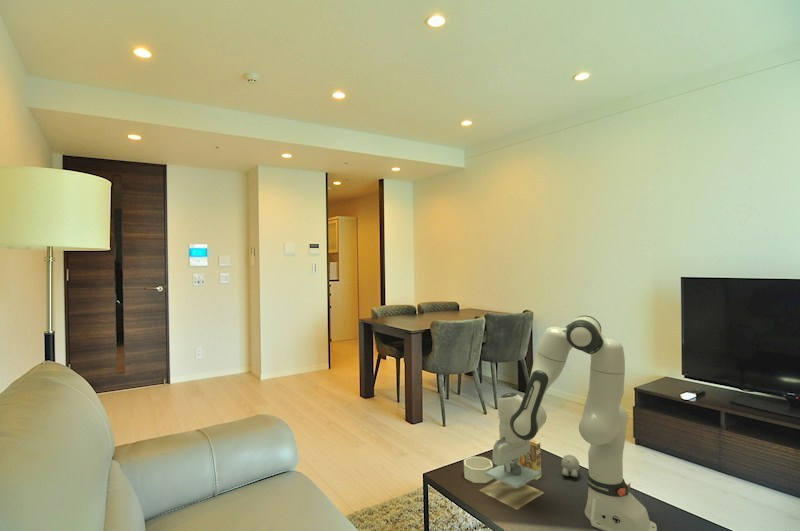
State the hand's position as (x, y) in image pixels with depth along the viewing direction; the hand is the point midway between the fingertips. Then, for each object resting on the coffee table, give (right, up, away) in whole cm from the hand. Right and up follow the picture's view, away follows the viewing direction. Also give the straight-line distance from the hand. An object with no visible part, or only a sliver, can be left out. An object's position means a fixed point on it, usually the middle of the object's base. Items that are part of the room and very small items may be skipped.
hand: (512, 469), depth 168 cm
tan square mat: (0, -9, 0) cm, 9 cm away
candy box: (+11, -9, +13) cm, 20 cm away
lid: (0, -2, 0) cm, 2 cm away
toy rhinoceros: (+29, -9, +14) cm, 33 cm away
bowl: (-11, -10, +14) cm, 20 cm away
